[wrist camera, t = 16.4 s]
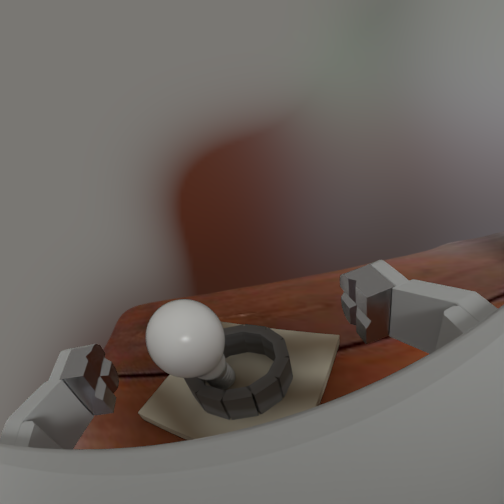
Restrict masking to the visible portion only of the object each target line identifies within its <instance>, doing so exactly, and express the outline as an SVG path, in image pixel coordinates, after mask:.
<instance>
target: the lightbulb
mask: <svg viewBox="0 0 504 504" xmlns="http://www.w3.org/2000/svg"><path fill="white" fill-rule="evenodd" d="M146 345H147V349H148V352H149V354H150V356H151V358H152V360H153V361H154V362H155V364H156V365H157V366H158V367H159V368H160V369H162V370H163V371H165V372H166V373H168V374H170V375H173V376H176V377H180V378H195V377H197V378H199V379H202V380H205V381H206V382H208V383H209V384H210V385H211V386H212V387H215V388H218V389H222V390H225V389H227V388H229V387H230V386H231V385H232V384H233V383H234V381H235V377H236V375H235V371H234V370H233V369H232V368H231V367H230V365H229V364H228V363H227V362H226V360H225V356H224V353H223V352H224V348H225V333H224V329H223V326H222V324H221V321H220V320H219V318H218V317H217V315H216V314H215V313H214V312H213V311H212V310H211V309H210V308H209V307H207V306H206V305H204V304H202V303H200V302H197V301H194V300H188V299H180V300H174V301H171V302H169V303H166V304H165V305H163V306H161V307H160V308H159V309H158V310H157V311H156V312H155V313H154V314H153V316H152V317H151V319H150V321H149V323H148V326H147V329H146Z"/></svg>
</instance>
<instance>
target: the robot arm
mask: <svg viewBox="0 0 504 504" xmlns="http://www.w3.org/2000/svg"><path fill="white" fill-rule="evenodd" d="M340 287H341V288H342V289H343V290H344V293H343V295H342V297H341V302H342V308H343V311H344V314H345V316H346V318H347V320H348V321H349V323H350V324H353V325H356V328H357V333H358V334H359V336H360V337H361V338H362V340H363V341H364V342H365V344H368V343H371V342H373V341H376V340H378V339H381V338H383V337H386V336H388V335H389V336H390V337H392V338H395V339H397V340H399V341H401V342H404V343H406V344H408V345H411V346H413V347H415V348H418V349H420V350H422V351H425V352H427V353H429V355H427V356H425V357H424V358H422V359H420V360H418V361H416V362H414V363H413V364H411V365H409V366H407V367H405V368H403V369H401V370H399V371H397V372H395V373H393V374H391V375H389V376H387V377H385V378H383V379H381V380H379V381H377V382H374V383H372V384H370V385H368V386H366V387H363V388H361V389H359V390H357V391H354V392H352V393H349V394H347V395H345V396H342V397H340V398H337V399H335V400H332V401H329V402H327V403H324V404H321V405H319V406H316V407H313V408H310V409H308V410H305V411H302V412H299V413H296V414H293V415H290V416H286V417H283V418H280V419H277V420H273V421H270V422H266V423H263V424H259V425H256V426H252V427H248V428H244V429H240V430H236V431H232V432H227V433H223V434H218V435H214V436H209V437H204V438H198V439H193V440H187V441H181V442H174V443H167V444H159V445H151V446H142V447H130V448H116V449H86V450H76V449H73V448H74V446H75V445H76V443H77V442H78V440H79V439H80V437H81V436H82V434H83V432H84V431H85V429H86V428H87V426H88V425H89V423H90V422H91V420H92V419H93V417H94V416H93V415H101V414H108V413H114V407H115V401H116V397H115V395H114V394H113V393H114V392H115V391H116V390H117V388H118V384H119V379H118V373H117V371H116V368H115V366H114V365H113V363H112V362H111V361H109V360H107V359H105V352H104V350H103V349H102V347H101V346H100V345H98V344H92V345H87V346H82V347H77V348H71V349H67V350H63V351H61V352H60V354H59V357H58V359H57V361H56V364H55V366H54V368H53V371H52V373H51V375H50V378H49V380H48V382H44V383H43V384H42V385H41V386H40V387H39V388H38V389H37V390H36V391H35V392H34V393H33V394H32V395H31V396H30V397H29V398H28V399H27V400H26V401H25V402H24V403H23V404H22V405H21V406H20V407H19V408H18V409H17V410H16V411H15V412H14V413H13V414H12V415H11V416H10V417H9V418H8V419H7V421H6V424H5V426H4V429H3V432H2V435H1V438H0V504H504V305H503V306H501V307H500V308H499V309H497V308H496V307H495V306H493V305H492V304H491V303H490V302H488V301H487V300H486V299H484V298H483V297H482V296H480V295H479V294H478V293H476V292H474V291H469V290H464V289H459V288H454V287H449V286H444V285H439V284H434V283H429V282H424V281H419V280H414V279H413V280H410V281H409V280H408V279H406V278H405V277H404V276H403V275H401V274H400V273H399V272H398V271H396V270H395V269H394V268H392V267H391V266H390V265H389V264H387V263H386V262H385V261H383V260H378V261H376V262H373V263H371V264H368V265H366V266H364V267H361V268H358V269H356V270H353V271H350V272H348V273H345V274H342V275H340Z"/></svg>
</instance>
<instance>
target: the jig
mask: <svg viewBox="0 0 504 504" xmlns="http://www.w3.org/2000/svg"><path fill="white" fill-rule="evenodd" d="M221 324H222V326H223V329H224V333H225V348H224V352H223V353H224V356H225V360H226V362H227V363H228V364H229V365H230V367H231V368H232V369H233V370H234V371H235V375H236V377H235V381H234V383H233V384H232V385H231V386H230V387H229V388H227V389H225V390H222V389H218V388H215V387H212V386H211V385H210V384H209V383H208V382H206V381H205V380H202V379H199V378H197V377H195V378H180V377H176V376H173V375H169V376H168V377H167V378H166V380H165V381H164V382H163V383H162V384H161V386H160V387H159V388H158V389H157V390H156V392H155V393H154V394H153V395H152V396H151V398H150V399H149V400H148V401H147V402H146V404H145V405H144V406H143V407H142V408H141V409H140V411H139V412H138V414H139V415H140V416H141V417H142V419H144V420H146V421H148V422H149V423H151V424H154V425H156V426H158V427H160V428H162V429H164V430H166V431H168V432H170V433H172V434H175V435H177V436H179V437H181V438H184V439H186V440H193V439H198V438H204V437H209V436H214V435H218V434H223V433H227V432H232V431H236V430H240V429H244V428H248V427H252V426H256V425H259V424H263V423H266V422H270V421H273V420H277V419H280V418H283V417H286V416H290V415H293V414H296V413H299V412H302V411H305V410H308V409H310V408H313V407H316V406H319V404H320V401H321V399H322V396H323V393H324V390H325V387H326V384H327V381H328V378H329V375H330V372H331V369H332V366H333V363H334V359H335V356H336V353H337V350H338V346H339V335H332V334H320V333H309V332H299V331H289V330H280V329H272V328H267V327H264V326H256V325H248V324H245V325H243V324H242V325H241V324H234V323H227V322H221Z"/></svg>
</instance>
